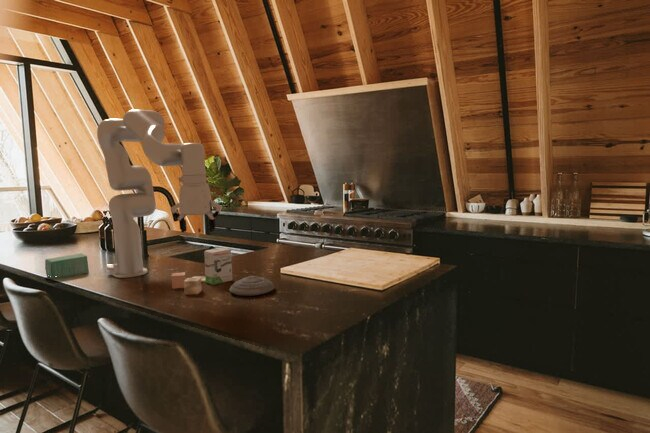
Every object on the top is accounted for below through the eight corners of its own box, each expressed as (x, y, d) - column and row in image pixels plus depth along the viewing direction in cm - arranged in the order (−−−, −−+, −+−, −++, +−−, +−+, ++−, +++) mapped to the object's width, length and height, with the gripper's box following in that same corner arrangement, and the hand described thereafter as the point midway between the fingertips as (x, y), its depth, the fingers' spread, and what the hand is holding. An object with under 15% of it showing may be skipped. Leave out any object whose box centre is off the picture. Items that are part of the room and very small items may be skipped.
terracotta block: (172, 288, 162) (171, 276, 161) (172, 285, 166) (171, 273, 166) (185, 287, 163) (185, 275, 163) (186, 284, 167) (185, 272, 167)
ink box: (212, 285, 165) (210, 252, 164) (205, 282, 168) (203, 250, 167) (233, 280, 171) (231, 248, 170) (225, 278, 175) (223, 247, 173)
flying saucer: (235, 286, 164) (234, 271, 163) (277, 285, 163) (277, 270, 163) (224, 299, 149) (223, 282, 148) (271, 298, 148) (270, 281, 148)
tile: (188, 282, 170) (188, 280, 170) (193, 278, 176) (193, 276, 176) (205, 281, 170) (205, 280, 170) (209, 277, 176) (209, 276, 176)
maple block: (184, 294, 155) (183, 281, 154) (188, 290, 159) (187, 277, 159) (198, 294, 155) (197, 281, 154) (201, 290, 159) (200, 277, 159)
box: (45, 277, 183) (44, 258, 182) (82, 270, 193) (81, 253, 192) (51, 280, 178) (50, 261, 177) (89, 273, 188) (87, 255, 187)
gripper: (164, 181, 152) (168, 233, 154) (216, 180, 151) (220, 232, 153) (173, 180, 160) (177, 230, 162) (223, 179, 159) (226, 229, 161)
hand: (198, 231), depth 158 cm, fingers open, 9 cm apart
